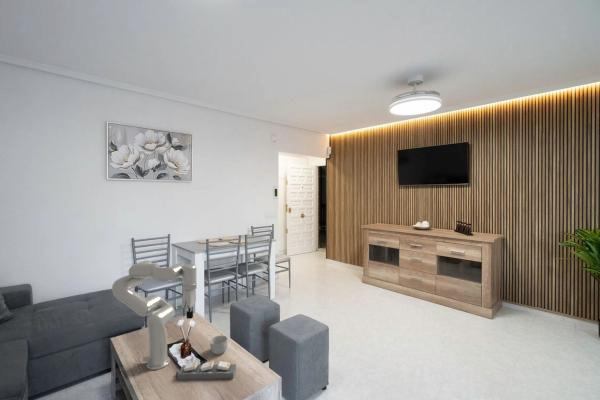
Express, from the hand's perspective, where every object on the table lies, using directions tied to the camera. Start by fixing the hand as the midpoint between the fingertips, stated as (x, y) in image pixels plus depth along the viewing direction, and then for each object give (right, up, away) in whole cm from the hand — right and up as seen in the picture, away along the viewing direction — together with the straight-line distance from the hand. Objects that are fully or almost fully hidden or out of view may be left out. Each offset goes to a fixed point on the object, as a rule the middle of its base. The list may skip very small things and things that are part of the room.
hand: (189, 317), depth 164 cm
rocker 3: (+21, -25, -5) cm, 33 cm away
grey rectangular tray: (+12, -29, -6) cm, 32 cm away
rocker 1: (+3, -25, -6) cm, 26 cm away
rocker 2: (+12, -25, -6) cm, 28 cm away
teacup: (+12, -29, +19) cm, 36 cm away
